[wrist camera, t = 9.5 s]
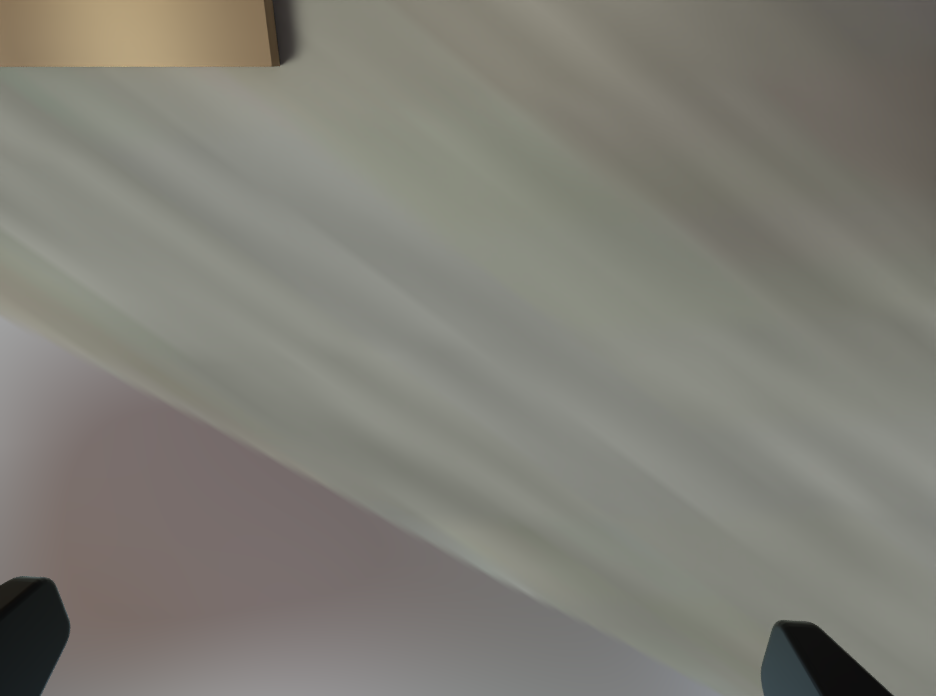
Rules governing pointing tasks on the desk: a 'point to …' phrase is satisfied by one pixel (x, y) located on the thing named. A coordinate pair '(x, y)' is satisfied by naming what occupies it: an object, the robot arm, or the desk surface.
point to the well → (138, 33)
